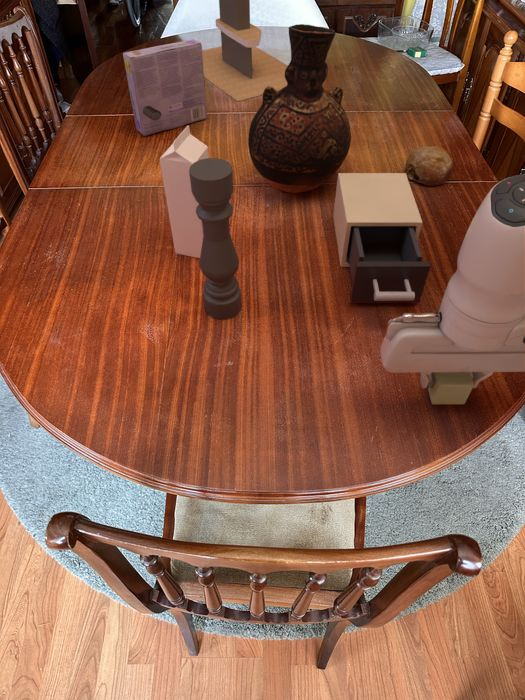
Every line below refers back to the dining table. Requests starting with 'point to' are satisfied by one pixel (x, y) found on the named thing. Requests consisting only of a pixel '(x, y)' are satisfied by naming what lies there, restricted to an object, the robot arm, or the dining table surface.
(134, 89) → the cake pan box
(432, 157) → the brown mottled round lump
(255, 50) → the architectural model
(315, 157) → the ceramic vessel
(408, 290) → the dark grey drawer
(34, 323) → the dining table surface
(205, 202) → the candle holder
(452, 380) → the block
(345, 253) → the drawer cabinet
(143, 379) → the dining table surface
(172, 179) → the milk
